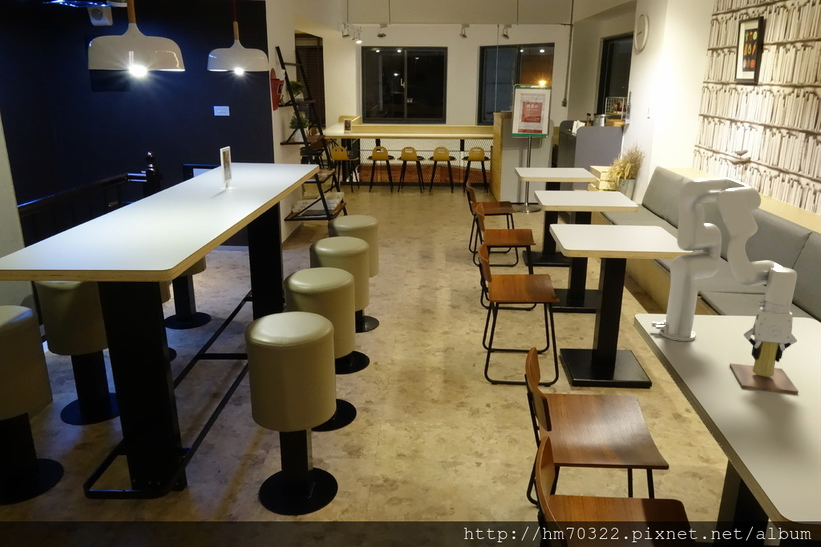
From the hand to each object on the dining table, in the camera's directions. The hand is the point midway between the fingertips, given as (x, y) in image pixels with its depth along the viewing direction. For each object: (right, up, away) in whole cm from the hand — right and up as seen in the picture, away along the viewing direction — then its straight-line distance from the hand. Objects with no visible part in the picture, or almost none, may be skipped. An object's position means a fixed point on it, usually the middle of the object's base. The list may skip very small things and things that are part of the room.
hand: (765, 358), depth 201 cm
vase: (0, -5, +2) cm, 5 cm away
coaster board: (0, -7, +2) cm, 7 cm away
